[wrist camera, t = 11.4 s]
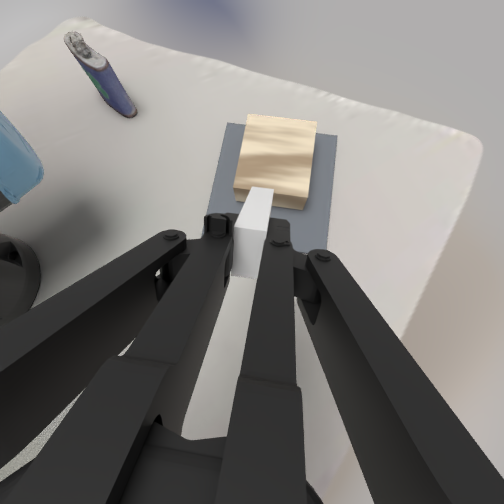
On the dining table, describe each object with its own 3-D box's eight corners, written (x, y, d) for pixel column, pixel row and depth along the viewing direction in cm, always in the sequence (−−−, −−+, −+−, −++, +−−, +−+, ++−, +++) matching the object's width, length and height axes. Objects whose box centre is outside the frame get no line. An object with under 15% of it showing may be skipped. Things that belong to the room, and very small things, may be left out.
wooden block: (307, 197, 33) (317, 121, 36) (232, 187, 33) (248, 113, 36) (302, 211, 37) (311, 142, 40) (235, 201, 37) (249, 134, 40)
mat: (324, 256, 35) (325, 255, 35) (202, 237, 37) (201, 236, 36) (336, 137, 40) (337, 135, 40) (227, 124, 42) (227, 122, 41)
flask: (140, 112, 43) (102, 47, 32) (127, 122, 42) (84, 60, 32) (108, 83, 45) (62, 12, 34) (95, 93, 44) (44, 24, 34)
